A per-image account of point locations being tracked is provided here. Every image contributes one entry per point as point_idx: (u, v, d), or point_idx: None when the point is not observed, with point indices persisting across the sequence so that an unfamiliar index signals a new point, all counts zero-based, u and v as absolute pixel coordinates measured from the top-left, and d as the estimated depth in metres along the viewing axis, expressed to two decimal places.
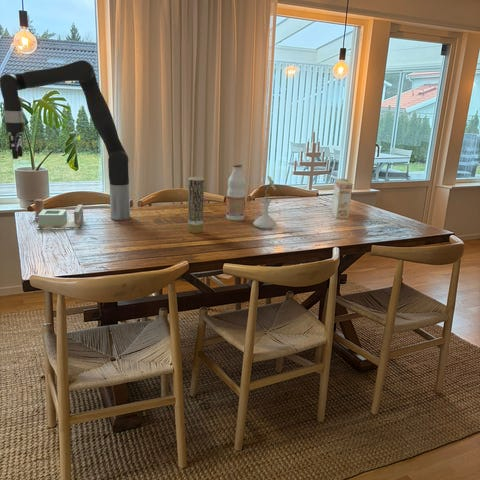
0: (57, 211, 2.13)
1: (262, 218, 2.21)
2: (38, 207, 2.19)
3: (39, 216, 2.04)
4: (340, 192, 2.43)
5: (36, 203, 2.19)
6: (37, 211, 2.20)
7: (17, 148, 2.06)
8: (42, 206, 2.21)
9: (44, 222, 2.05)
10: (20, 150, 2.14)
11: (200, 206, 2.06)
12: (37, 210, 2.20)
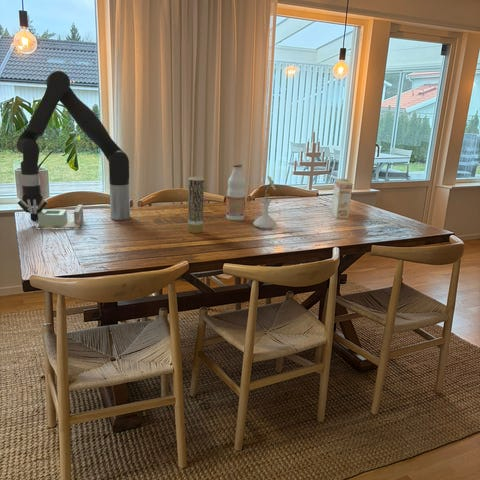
0: (57, 211, 2.13)
1: (262, 218, 2.21)
2: (38, 207, 2.19)
3: (39, 216, 2.04)
4: (340, 192, 2.43)
5: None
6: None
7: None
8: None
9: (44, 222, 2.05)
10: None
11: (200, 206, 2.06)
12: None
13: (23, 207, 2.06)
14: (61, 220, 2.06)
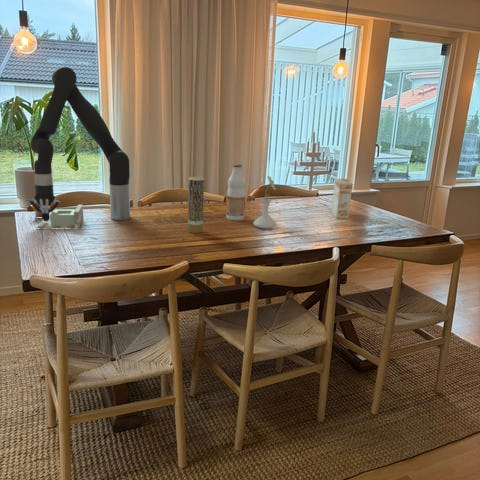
0: (68, 211, 2.14)
1: (262, 218, 2.21)
2: None
3: (51, 216, 2.05)
4: (340, 192, 2.43)
5: None
6: (37, 211, 2.20)
7: None
8: None
9: (56, 222, 2.06)
10: None
11: (200, 206, 2.06)
12: None
13: (35, 206, 2.06)
14: (73, 220, 2.07)
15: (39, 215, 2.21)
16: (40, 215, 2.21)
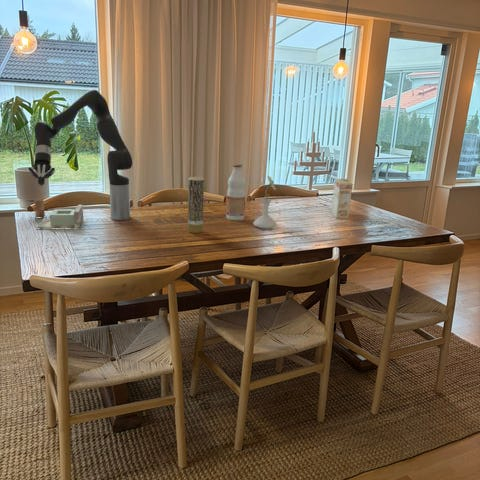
0: (68, 211, 2.14)
1: (262, 218, 2.21)
2: (38, 207, 2.19)
3: (51, 216, 2.05)
4: (340, 192, 2.43)
5: (36, 203, 2.19)
6: (37, 211, 2.20)
7: None
8: (42, 206, 2.21)
9: (56, 222, 2.06)
10: None
11: (200, 206, 2.06)
12: (37, 210, 2.20)
13: (33, 171, 2.28)
14: (73, 220, 2.07)
15: (39, 215, 2.21)
16: (40, 215, 2.21)
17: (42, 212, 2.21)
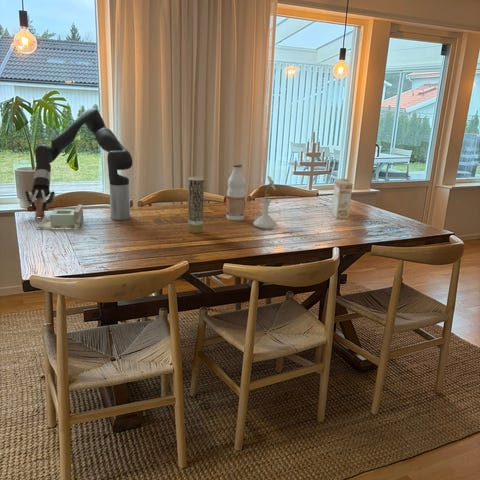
0: (68, 211, 2.14)
1: (262, 218, 2.21)
2: (38, 207, 2.19)
3: (51, 216, 2.05)
4: (340, 192, 2.43)
5: (36, 203, 2.19)
6: (37, 211, 2.20)
7: None
8: (42, 206, 2.21)
9: (56, 222, 2.06)
10: None
11: (200, 206, 2.06)
12: (37, 210, 2.20)
13: (28, 196, 2.21)
14: (73, 220, 2.07)
15: (39, 215, 2.21)
16: (40, 215, 2.21)
17: (42, 212, 2.21)
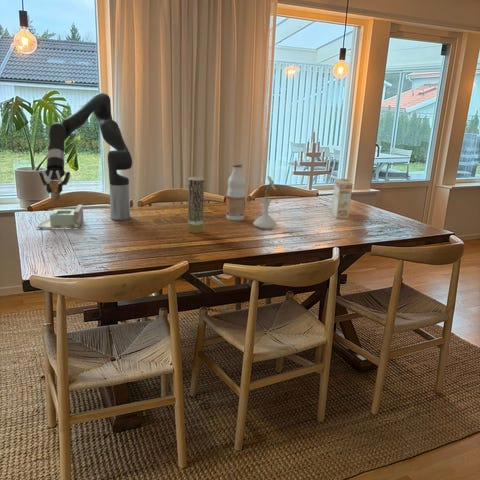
0: (68, 211, 2.14)
1: (262, 218, 2.21)
2: (53, 189, 2.08)
3: (51, 216, 2.05)
4: (340, 192, 2.43)
5: (51, 185, 2.07)
6: (52, 193, 2.09)
7: None
8: None
9: (56, 222, 2.06)
10: None
11: (200, 206, 2.06)
12: (52, 192, 2.08)
13: (42, 177, 2.09)
14: (73, 220, 2.07)
15: (55, 197, 2.09)
16: (56, 197, 2.09)
17: (58, 194, 2.10)
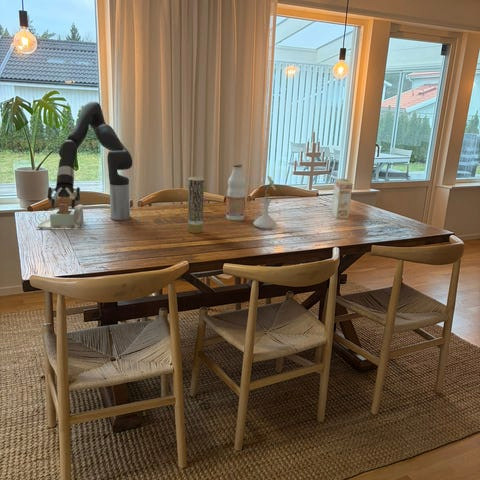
0: None
1: (262, 218, 2.21)
2: (63, 212, 2.09)
3: (51, 216, 2.05)
4: (340, 192, 2.43)
5: (61, 208, 2.08)
6: None
7: None
8: (67, 211, 2.10)
9: (56, 222, 2.06)
10: (55, 203, 2.10)
11: (200, 206, 2.06)
12: None
13: (49, 192, 2.10)
14: (73, 220, 2.07)
15: None
16: None
17: None
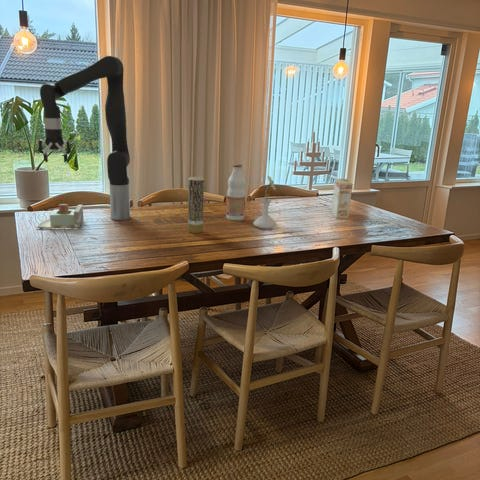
0: None
1: (262, 218, 2.21)
2: (63, 212, 2.09)
3: (51, 216, 2.05)
4: (340, 192, 2.43)
5: (61, 208, 2.08)
6: None
7: None
8: (67, 211, 2.10)
9: (56, 222, 2.06)
10: (47, 156, 2.21)
11: (200, 206, 2.06)
12: None
13: (40, 147, 2.18)
14: (73, 220, 2.07)
15: None
16: None
17: None
